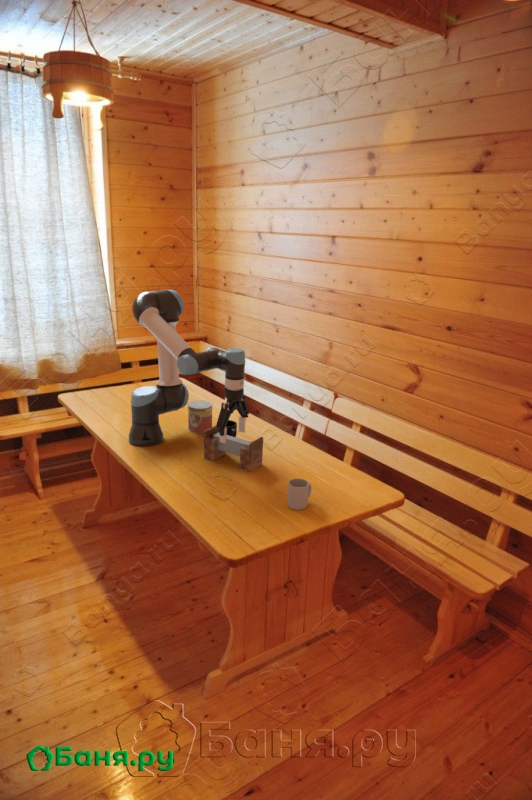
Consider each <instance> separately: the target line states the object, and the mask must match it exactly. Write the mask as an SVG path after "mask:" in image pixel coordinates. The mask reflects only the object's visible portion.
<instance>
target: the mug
mask: <svg viewBox="0 0 532 800" xmlns="http://www.w3.org/2000/svg"><path fill="white" fill-rule="evenodd" d="M223 425H224V424H223ZM226 428H227V433H226V434H227V435H229V436H232V437H236V438H237V435H238V434H237V431H238V430H237V429H238V423H237V422H236V421H235V420H231V419H229V420H228V422H227V425H226ZM218 432H220V428H218Z"/></svg>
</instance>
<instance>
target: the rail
mask: <svg viewBox="0 0 532 800" xmlns="http://www.w3.org/2000/svg"><path fill="white" fill-rule="evenodd" d="M213 438H214V439H217V450H220V451H223V452H226V454H227V453H228V454H231V455H232V456H233V455H234V456H237V457H240V448H242V447H246V448H249V444H250V443H252V441H249V440H247V439H244V438H243V439H242V438H239V437H237V436H236V437H232V436H229V435H226V443H222V442H220V434H219V433H216V434H214V435H213Z"/></svg>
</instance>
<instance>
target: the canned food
mask: <svg viewBox="0 0 532 800" xmlns="http://www.w3.org/2000/svg"><path fill="white" fill-rule="evenodd" d="M187 406H188V407H187V409H188V414H187V415H188V416H187V417H188V418H187V423H188V426H187V427H188V428H187V429H188V431H190V432H192V433H195V434H204V431H206V430H208V429H210V428H212V427H213V402H210V401H208V400H194V401H190V402H189V403H187Z"/></svg>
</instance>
